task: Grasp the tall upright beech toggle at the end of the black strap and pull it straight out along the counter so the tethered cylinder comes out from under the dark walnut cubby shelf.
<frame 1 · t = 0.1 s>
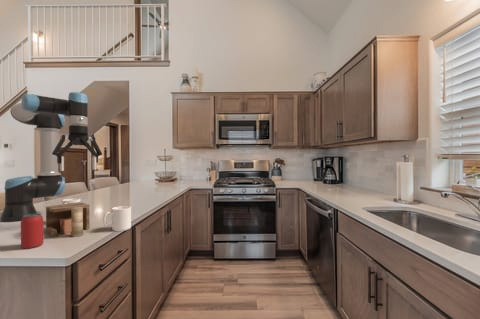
hand: (78, 170, 116), 28 cm above the worktop, fingers open, 13 cm apart
tethered cylinder: (70, 231, 112), on the worktop
beer can: (32, 246, 94), on the worktop
cup: (117, 230, 115), on the worktop
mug: (69, 223, 127), on the worktop
cubby shelf: (68, 230, 114), on the worktop
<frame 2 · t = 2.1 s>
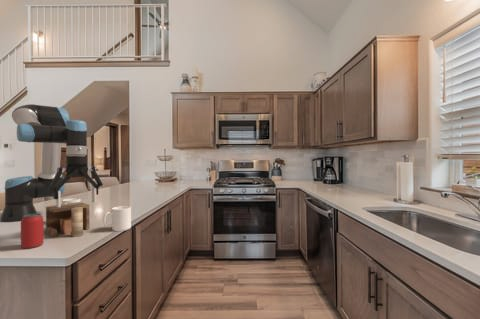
hand: (77, 204, 106), 14 cm above the worktop, fingers open, 13 cm apart
nothing on the worktop moved.
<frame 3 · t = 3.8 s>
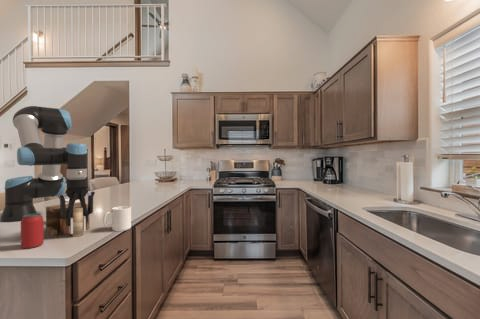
hand: (77, 231, 107), 2 cm above the worktop, fingers closed on tethered cylinder, 4 cm apart
tethered cylinder: (70, 231, 112), on the worktop, touching gripper
everything else where it was.
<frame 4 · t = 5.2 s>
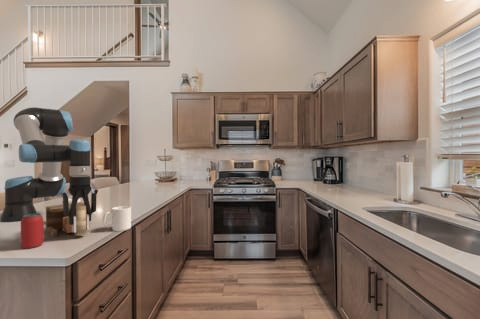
hand: (80, 230, 104), 3 cm above the worktop, fingers closed on tethered cylinder, 4 cm apart
tethered cylinder: (73, 230, 110), point 1 cm above the worktop, touching gripper
everything else where it was.
when the fingers open (2 cm above the worktop, at t = 6.8 s): tethered cylinder stays where it is, on the worktop.
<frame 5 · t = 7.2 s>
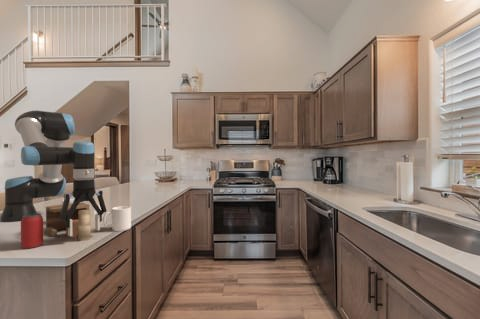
hand: (84, 232, 102), 3 cm above the worktop, fingers open, 9 cm apart
tethered cylinder: (76, 234, 107), on the worktop
everything else where it was.
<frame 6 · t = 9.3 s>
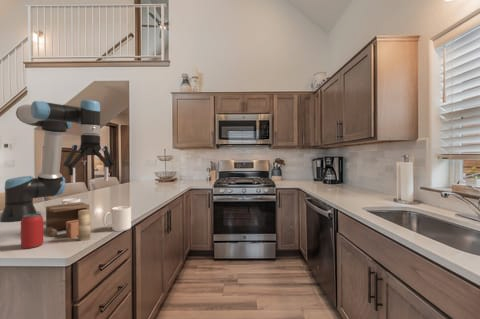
hand: (90, 181, 111), 23 cm above the worktop, fingers open, 13 cm apart
nothing on the worktop moved.
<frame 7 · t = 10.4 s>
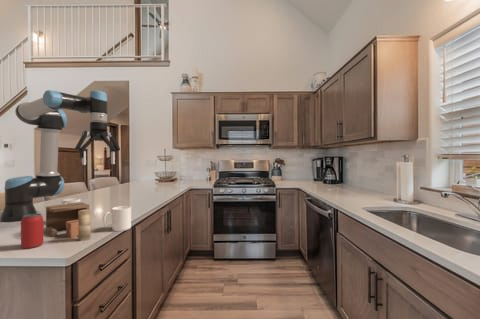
hand: (99, 164, 123), 31 cm above the worktop, fingers open, 13 cm apart
nothing on the worktop moved.
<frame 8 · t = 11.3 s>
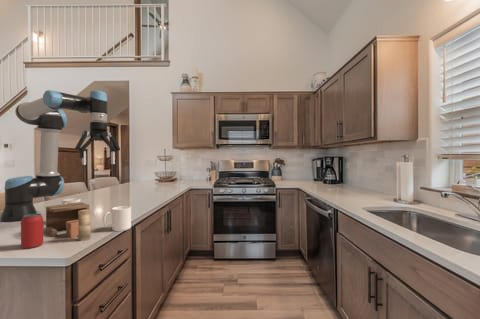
hand: (99, 164, 123), 31 cm above the worktop, fingers open, 13 cm apart
nothing on the worktop moved.
at the end: tethered cylinder inside the target area (7.4 cm from its centre), on the worktop; tethered cylinder tilted 0°; the gripper is holding nothing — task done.
